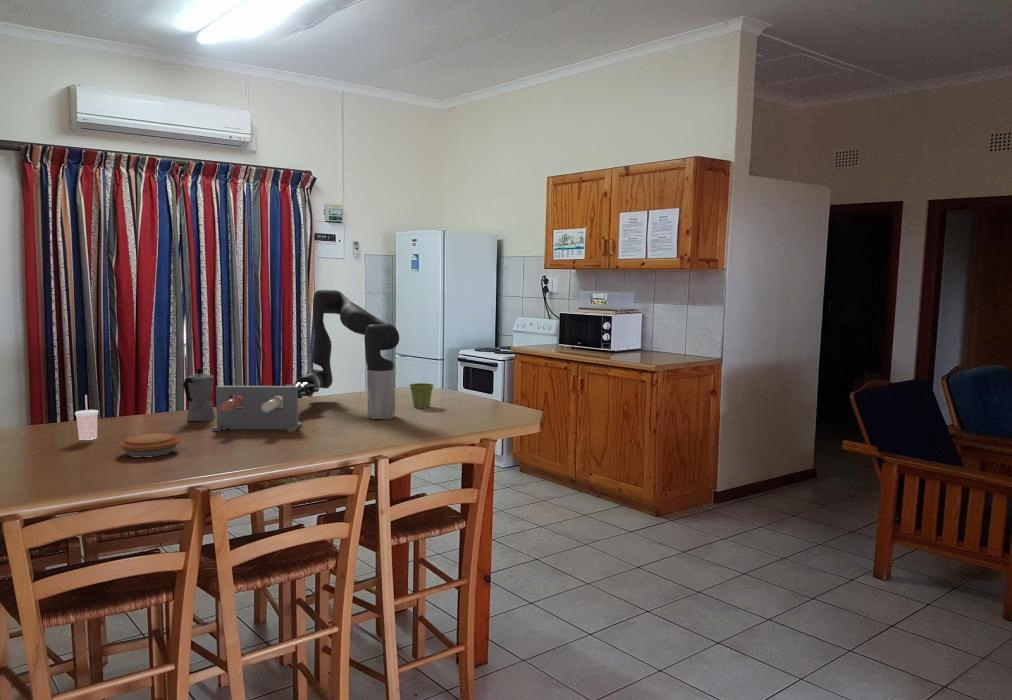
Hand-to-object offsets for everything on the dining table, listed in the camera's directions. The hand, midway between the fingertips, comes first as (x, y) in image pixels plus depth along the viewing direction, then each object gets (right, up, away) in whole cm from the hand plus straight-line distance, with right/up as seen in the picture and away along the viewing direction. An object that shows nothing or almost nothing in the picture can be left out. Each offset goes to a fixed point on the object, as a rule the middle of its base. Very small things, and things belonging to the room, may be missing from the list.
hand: (295, 391), depth 262 cm
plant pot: (+42, -7, +22) cm, 48 cm away
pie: (-26, -15, -54) cm, 61 cm away
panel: (-7, -11, -20) cm, 24 cm away
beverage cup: (-52, -13, -39) cm, 66 cm away
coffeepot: (-32, -10, -6) cm, 34 cm away
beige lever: (0, -5, -24) cm, 25 cm away
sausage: (-13, -5, -24) cm, 28 cm away
